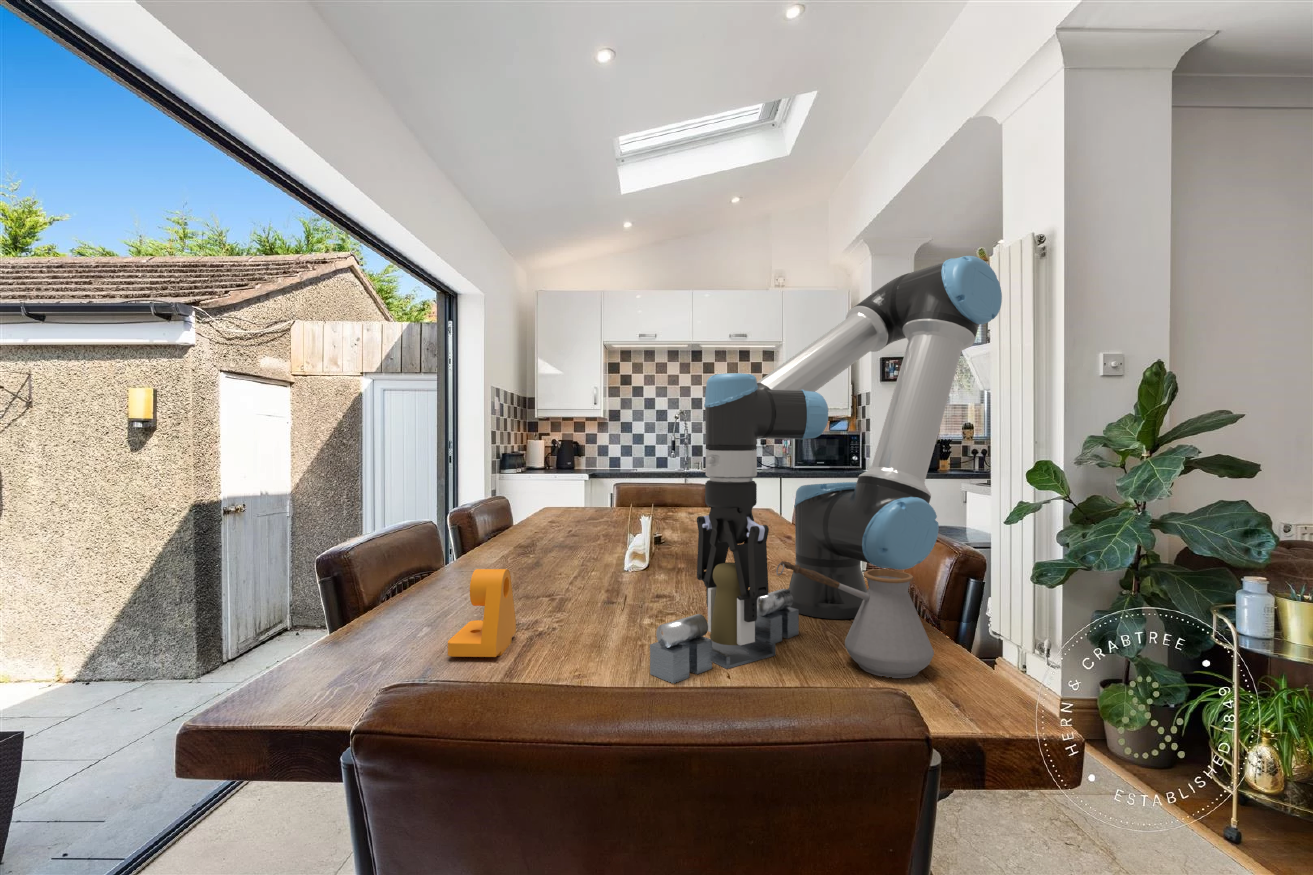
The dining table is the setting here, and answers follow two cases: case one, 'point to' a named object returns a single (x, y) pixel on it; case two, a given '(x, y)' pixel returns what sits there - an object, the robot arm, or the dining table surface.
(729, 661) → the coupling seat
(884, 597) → the coffee pot
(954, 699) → the dining table surface
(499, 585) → the bracket
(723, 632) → the olive pepper mill
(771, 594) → the shaft
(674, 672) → the shaft
